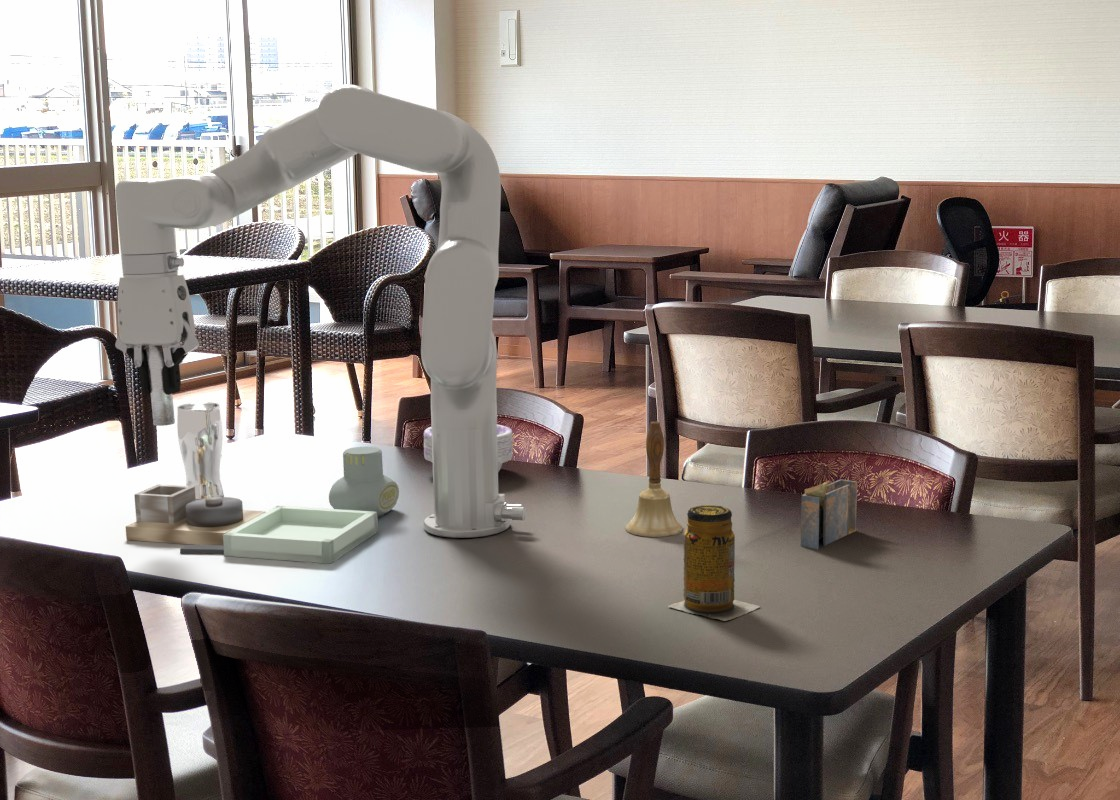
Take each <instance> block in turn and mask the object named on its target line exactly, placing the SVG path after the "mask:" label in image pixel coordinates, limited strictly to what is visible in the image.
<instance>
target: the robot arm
mask: <svg viewBox="0 0 1120 800" xmlns="http://www.w3.org/2000/svg"><path fill="white" fill-rule="evenodd" d="M358 154H359V155H364V156H366V157H369V158H373V159H377V160H379V161H384V162H387V163H390V164H393V165H397V166H400V167H404V168H407V169H410V170H413V171H417V172H422V173H426V174H437V176H438V178H439V180H440V184H441V196H440V197H441V198H440V206H439V231H438V242H437V248H436V251H435V252H434V253H433V255H432V256H431V258H430V259H429V262H428V264H427V267H426V272H425V279H424V289H423V290H424V291H423V292H424V293H423V306H422V307H423V308H422V325H421V340H420V342H421V343H420V344H421V345H420V355H421V356H420V357H421V363H422V367H423V369H424V370H425V372H426V374H427V375H428V377H429V378H430V416H431V417H430V419H431V426H430V427H431V432H432V462H431V463H432V487H433V513H432V514H430V515H428V516H427V517H426V518H425V519H424V520H423V529H424V530H425V531H426V532H427V533H429V534H431V535H435V536H439V537H443V538H454V539H463V538H464V539H465V538H467V539H468V538H479V537H488V536H493V535H496V534H499V533H502V532H504V531H506V530H508V528H509V527H510V525H511V521H510V520H512V521H525V520H526V517H527V510H526V506H524V507H523V504H519V503H516V504H515V503H513V504H512V503H510V504H509V503H508V502H507V501H506V497H505V495H506V494H505V493H499V472H498V455H497V424H498V412H497V411H498V407H497V405H498V404H497V403H498V402H497V399H498V398H497V397H498V396H497V394H498V393H497V373H498V371H497V368H498V366H497V365H498V361H497V359H498V350H497V349H498V348H497V341H496V340H497V339H496V337H495V333H494V332H493V317H494V305H495V303H494V302H495V294H496V293H495V291H496V290H495V289H496V287H497V284H498V280H499V278H500V277H499V275H500V270H499V269H500V267H499V246H500V228H501V227H500V226H501V201H502V200H501V199H502V198H501V197H502V194H501V193H502V185H501V182H502V181H501V174H500V168H499V164H498V160H497V158H496V155H495V153H494V151H493V149H492V147H491V146H490V144H489V143H488V141H487V139H485V137H483V135H482V134H481V133H480V132H479V130H477V129H476V128H474V127H473V125H470V124H469V123H468V122H466V121H465V120H463V119H462V118H460V117H458V116H456V115H455V114H452V113H450V112H447V111H444V110H441V109H440V110H439V109H435V108H432V107H431V108H430V107H428V106H425V105H424V106H423V105H420V104H416V103H413V102H410V101H406V100H404V99H403V100H402V99H400V98H396V97H392V96H388V95H385V94H382V93H378V92H376V91H373V90H371V89H369V88H367V87H364V86H361V85H357V84H342V85H338V86H336V87H334V88H332V89H331V90H329V91H327V93H326V94H325V95H324V96H323V97H322V99H321V100H320V102H318V103H317V104H315V105H313V106H311V107H310V108H308V109H306V110H304V111H301V112H300V113H298V114H295V115H294V116H292V117H290V118H288V119H285V120H284V121H282V122H280V123H278V124H276V125H273V126H272V127H270V128H269V129H267V130H266V131H265V132H264V133H263V134H262V135H261V137H260V138H259V140H258V141H257V142H256V144H254V145H253V146H251V148H249V149H248V150H246V151H245V152H244V153H242V154H241V155H239V156H236V158H233V159H231V160H230V161H227V162H226V163H224V164H222V165H220V166H217V167H216V168H214V169H212V170H210V171H207V172H206V173H204V174H203V173H202V174H191V175H184V176H183V175H182V176H177V177H172V178H165V179H163V178H159V177H158V178H157V177H155V178H154V177H153V178H152V177H147V178H129V179H122V180H120V181H119V182H118V183H117V184H116V186H115V190H114V191H115V205H116V213H117V214H116V215H117V226H118V234H119V235H118V237H119V247H120V257H121V259H120V260H121V267H122V268H121V269H122V276H119V282H118V290H117V327H118V335H117V338H116V340H115V345H114V346H115V348H116V349H117V350H120V351H121V352H123V353H125V354H126V355H127V356H128V357H129V358H130V359H131V360H132V361H133V362H134V363H133V364H134V366H135V367H137V368H138V375H139V384H140V387H141V394H143V395H148V394H151V392H150V381H149V370H148V360H147V349H146V345H162V348H163V353H164V359H165V364H166V367H163V369H162V372H163V383H164V393H165V394H168V395H170V394H172V395H173V394H177V393H179V392H180V391H181V385H182V381H181V370H180V365H182V364H183V360H184V359H185V358H186V357H187V356H188V355H189V353H191V352H193V351H195V350H196V349H198V348H199V347H200V342H199V340H198V338H197V337H196V328H195V320H194V312H193V306H192V301H191V296H190V293H189V292H190V291H189V288H188V285H187V282H186V279H185V276H184V274H183V273H179V272H178V271H179V267H181V268H182V267H183V266H184V264H185V261H184V260H185V259H184V258H183V257H182V256H181V257H179V256H178V253H177V252H176V251H177V250H176V249H177V248H176V240H175V239H176V238H175V237H176V236H175V229H180V230H181V229H182V230H201V229H205V228H210V227H214V226H219V225H222V224H225V223H226V222H228V221H230V220H232V219H234V218H236V217H238V216H241V215H242V214H244V213H245V212H248V211H250V210H253V208H256V207H257V206H259V205H261V204H263V203H265V202H267V201H268V200H270V199H272V198H274V197H275V196H278V195H280V194H281V193H284V192H285V191H289V190H291V189H293V188H295V187H296V186H299V184H302V183H304V182H306V181H307V180H309V179H312V178H313V177H315V176H317V175H318V174H320V173H322V172H325V171H326V170H328V169H330V168H332V167H334V166H335V165H338V164H339V163H342V162H343V161H347V160H348V159H350V158H352V157H354V156H355V155H358ZM182 342H183V343H184V344H182V345H181V343H182Z"/></svg>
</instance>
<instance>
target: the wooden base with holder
mask: <svg viewBox="0 0 1120 800" xmlns="http://www.w3.org/2000/svg"><path fill="white" fill-rule="evenodd" d="M134 507H135V519H136V520H135V522H132V523H130V524H128V525H126V526H125V535H126V541H141V542H153V543H166V544H179V545H180V544H181V545H224V544H223V535H224V534H225V533H227V532H229V531H231V530H233V529H235V528H237V527H239V526H240V525H242V524H244V523H246V522H248V521H250V520H252V519H253V518H255V517H257V516H259V515H261V514H263V513H265V512H267V511H264V510H249V509H247V510H246V509H244V507H243V500H241V499H240V498H237V497H236V498H235V497H230V496H228V497H227V496H226V497H225V496H222V497H209V498H205V499H200V500H196V498H195V487H193V486H186V485H173V484H172V485H171V484H156V485H153V486H151V487H149V488H146V489H144V490H142V491H140V492H137V493H134Z"/></svg>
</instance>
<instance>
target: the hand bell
mask: <svg viewBox="0 0 1120 800" xmlns="http://www.w3.org/2000/svg"><path fill="white" fill-rule="evenodd" d="M664 438H665V437H664V432H663V430H662V428H661V422H660V421H656V420H655V421H654V420H653V421H651V422H650V425H649V429H648V431H647V433H646V439H645V451H646V456H647V459H648V464H649V474H648V477H649V478H648V488H646V489H644V490H643V491H641V492H640V493H639V495H638V503H637V507H636V510H635V514H634V516H633V517H632V518H631V520H630V521H628V523H627V524H626V526H625V531H626V532H628V534H629V533H630V534H632V535H635V536H640V537H647V538H649V537H650V538H664V537H666V538H667V537H670V536H671V537H673V536H675V535H679V534H681V533H682V532H683V531H684V528H683V526H682V524H681V523H680V522H679V520H677V518H676V516H675V514H674V512H673V508H672V504H671V503H672V501H671V495H670V493H669V492H668V491H666V490H664V489H663V488H662V487H661V486H662V485H661V481H662V479H661V464H662V463H661V462H662V458H663V456H664V450H665V449H664V448H665V439H664Z"/></svg>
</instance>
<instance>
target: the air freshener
mask: <svg viewBox="0 0 1120 800" xmlns="http://www.w3.org/2000/svg"><path fill="white" fill-rule="evenodd" d="M342 458H343V460H342V461H343V465H342V466H343V476H342V477H341V478H339V479H337V480H336V481H335V482H334V483H333V484H332V485H331V488H330V491H329V493H328V500H329V501H328V502H329V505H330V506H331V507H332V509H341V510H358V511H374V512H377V518H378V517H382V516H384V515H385V514H387V513H388V512H390V511H391V510H392V509H394V508H395V506H396V504H397V502H398V499H399V496H400V488H399V485H398V484H397V482H396V481H395V480H393V479H392V478H391V477H389V476H387V475H385V474H384V469H383V467H384V466H383V451H382V450H381V448H379V447H376V446H355V447H350V448H347V449H345V450H344V451H343V453H342Z"/></svg>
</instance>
